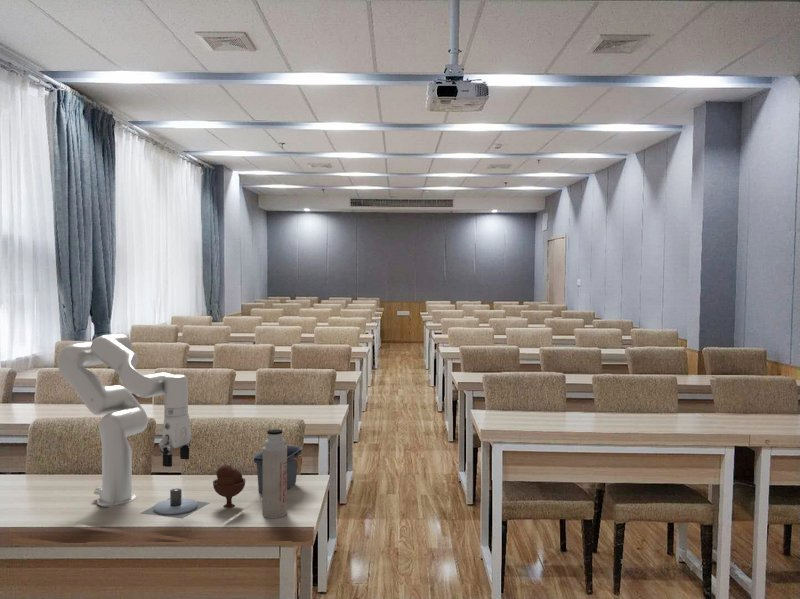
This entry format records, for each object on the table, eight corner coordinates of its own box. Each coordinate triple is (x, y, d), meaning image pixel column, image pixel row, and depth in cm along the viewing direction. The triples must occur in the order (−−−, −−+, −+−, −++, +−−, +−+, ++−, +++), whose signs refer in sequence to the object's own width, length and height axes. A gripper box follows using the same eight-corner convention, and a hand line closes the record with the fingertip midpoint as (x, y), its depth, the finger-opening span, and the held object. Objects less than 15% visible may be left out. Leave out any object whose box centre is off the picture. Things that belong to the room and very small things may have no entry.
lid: (144, 512, 220) (144, 494, 220) (170, 499, 234) (170, 482, 234) (182, 516, 216) (182, 498, 216) (205, 503, 230) (205, 485, 230)
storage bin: (272, 480, 262) (272, 443, 261) (309, 482, 258) (310, 446, 258) (249, 496, 241) (249, 457, 240) (289, 499, 238) (290, 459, 237)
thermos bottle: (291, 512, 224) (292, 429, 224) (275, 519, 217) (275, 433, 217) (273, 508, 228) (274, 426, 228) (257, 515, 222) (257, 430, 221)
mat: (140, 516, 220) (140, 513, 220) (169, 501, 235) (169, 498, 235) (182, 521, 215) (182, 518, 215) (209, 505, 231) (209, 502, 231)
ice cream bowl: (226, 516, 220) (227, 471, 220) (205, 509, 227) (205, 465, 226) (252, 508, 228) (252, 464, 228) (231, 501, 235) (231, 459, 235)
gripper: (170, 417, 215) (170, 470, 215) (200, 408, 232) (200, 457, 232) (150, 416, 217) (150, 468, 217) (181, 406, 234) (181, 455, 234)
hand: (176, 462), depth 225 cm, fingers open, 9 cm apart
